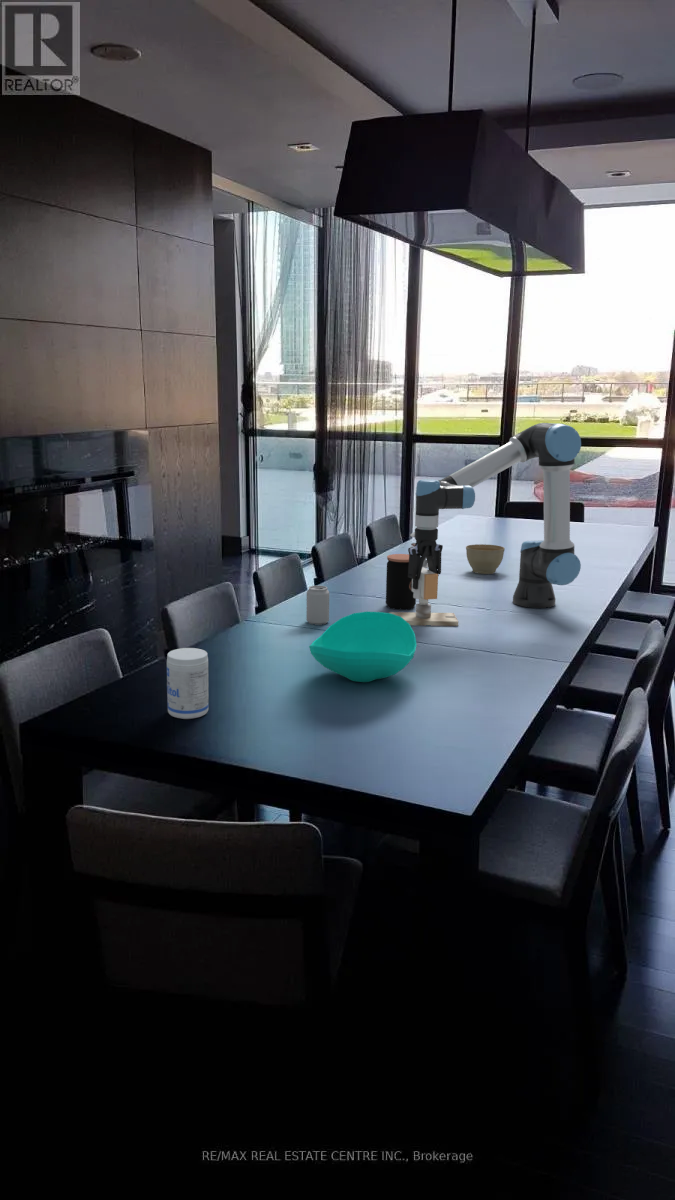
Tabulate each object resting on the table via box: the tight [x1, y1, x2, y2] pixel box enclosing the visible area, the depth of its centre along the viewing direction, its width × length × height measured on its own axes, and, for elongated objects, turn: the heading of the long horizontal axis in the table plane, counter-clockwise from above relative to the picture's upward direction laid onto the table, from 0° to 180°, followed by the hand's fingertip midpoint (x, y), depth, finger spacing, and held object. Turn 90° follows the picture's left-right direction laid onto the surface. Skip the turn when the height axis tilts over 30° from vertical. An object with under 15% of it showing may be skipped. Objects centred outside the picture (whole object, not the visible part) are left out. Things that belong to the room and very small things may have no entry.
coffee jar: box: [385, 553, 417, 611], centre depth 303 cm, size 11×11×18 cm
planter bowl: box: [465, 543, 505, 575], centre depth 364 cm, size 16×16×11 cm
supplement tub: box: [166, 647, 209, 720], centre depth 201 cm, size 10×10×15 cm
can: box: [305, 585, 330, 626], centre depth 282 cm, size 8×8×12 cm
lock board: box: [388, 603, 459, 627], centre depth 286 cm, size 22×11×6 cm, turn 90°
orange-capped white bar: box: [412, 567, 439, 605], centre depth 284 cm, size 4×12×11 cm, turn 17°
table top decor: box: [309, 611, 418, 683], centre depth 228 cm, size 40×28×13 cm
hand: (423, 597), depth 285 cm, fingers closed on orange-capped white bar, 5 cm apart
